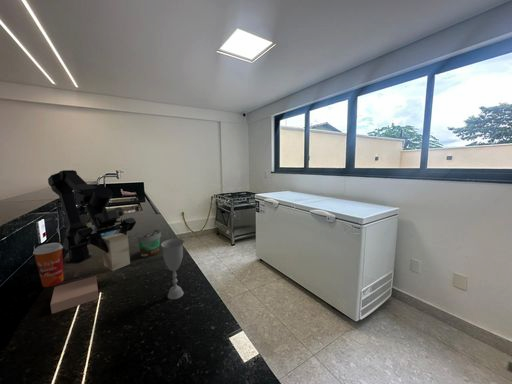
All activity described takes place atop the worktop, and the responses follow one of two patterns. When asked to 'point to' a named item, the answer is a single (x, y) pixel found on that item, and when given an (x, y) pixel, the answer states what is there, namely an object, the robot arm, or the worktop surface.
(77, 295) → the plinth
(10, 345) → the worktop surface
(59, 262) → the paper cup
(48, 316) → the worktop surface
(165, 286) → the worktop surface
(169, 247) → the chalice
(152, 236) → the food container
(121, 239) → the pillar
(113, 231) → the soap dispenser
